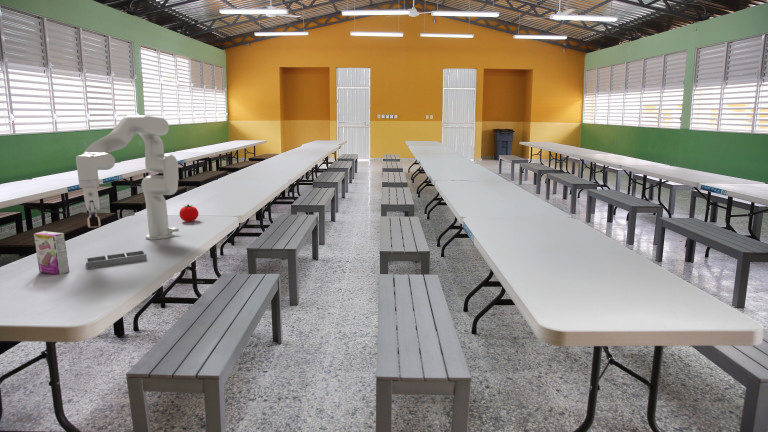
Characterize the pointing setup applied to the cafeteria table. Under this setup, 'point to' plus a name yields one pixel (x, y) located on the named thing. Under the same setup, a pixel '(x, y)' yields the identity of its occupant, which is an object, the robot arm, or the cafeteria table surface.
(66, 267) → the candy bar box
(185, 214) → the tomato
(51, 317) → the cafeteria table surface
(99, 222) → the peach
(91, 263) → the tray
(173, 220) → the cafeteria table surface
